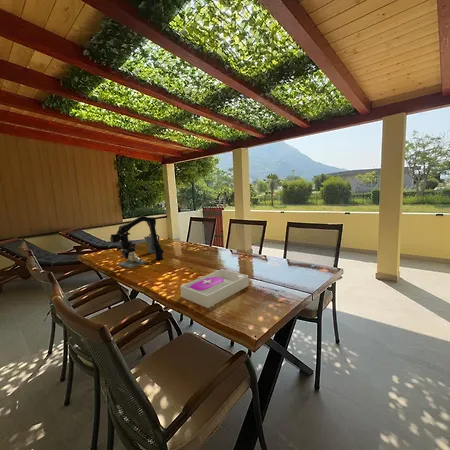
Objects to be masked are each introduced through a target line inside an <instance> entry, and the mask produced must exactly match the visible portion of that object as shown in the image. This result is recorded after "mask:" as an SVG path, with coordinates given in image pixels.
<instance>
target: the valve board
mask: <svg viewBox="0 0 450 450" xmlns="http://www.w3.org/2000/svg"><path fill="white" fill-rule="evenodd" d="M146 263H147V261H146V260H142V259H141V263H135V262H134V263H131V262H130V261H127V260H126V261H122V262H118V263H117V266H119V267H120V266H121V267H124V268H127V269H132V268H134V267H137V266H141V265H144V264H146Z"/></svg>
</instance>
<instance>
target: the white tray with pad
mask: <svg viewBox="0 0 450 450" xmlns="http://www.w3.org/2000/svg"><path fill="white" fill-rule="evenodd" d="M249 285H250V284H249V275H248V274H243V273H239V272H236V271H231V270H227V269H223V268H221V269H218V270H216V271H214V272H211V273H209V274H207V275H204V276H201V277H198V278H196V279H195V280H192V281H189V282H187V283H184V284H182V285H180V286H179V287H180V295H181V296H180V297H181V298H183V299H185V300H188V301H190V302H192V303H194V304H197V305H200V306H202V307H205V308H207V309H209V308H210V307H213V306H214V305H216V304H218V303H220V302H222V301H224V300H225V299H227V298H229V297H232V296H233V295H234V294H236V293H239V292H240V291H242V290H244V289H245V288H247V287H249Z"/></svg>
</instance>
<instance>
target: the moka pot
mask: <svg viewBox="0 0 450 450" xmlns="http://www.w3.org/2000/svg"><path fill="white" fill-rule="evenodd" d="M156 235H157V240H158V243H159V242H160V236H159V235H158V234H156ZM143 239H144V241H146V244H147V248H148V251H147V252H148V254H151V255H152V254H155V253H154V251H152V249H151V245H152V237H151V233H149V235H147V236H144V237H143Z"/></svg>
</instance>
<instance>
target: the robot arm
mask: <svg viewBox="0 0 450 450" xmlns="http://www.w3.org/2000/svg"><path fill="white" fill-rule="evenodd" d="M142 222H146V225H147V226H148V227H149V232H150V234H151V237H152V245H151V249H152V251H154V253H153V254H154V255H155V258H154V261H161V260H164V259H165V257H164V256H163V253H164V252H165V251H164V250H163V249H162V247H161V245H160V243H159V242H158V236H157V235H158V234H157V230H156V225H157V219H156V218H155V217H152V216H145V215H140V216H138V217H137V218H134V219H133V220H131V221H130V222H128V223H125V224H122V225H120V226H119V227H118V230H117V232H116V233H114V234H110V238H109V239H110V243H111V244H115V243H119V244H121V246H119V245H118V246H117V247H116V251H120V253H121V255H124V258H125V260H127V259H128V256H129V253H132V252H136V244H137V243H132V242H131V241H129V235H131V233H130V232H129V231H130V230H131V229H132V228H133V227H135V226H136V225H138V224H139V223H142Z"/></svg>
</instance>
